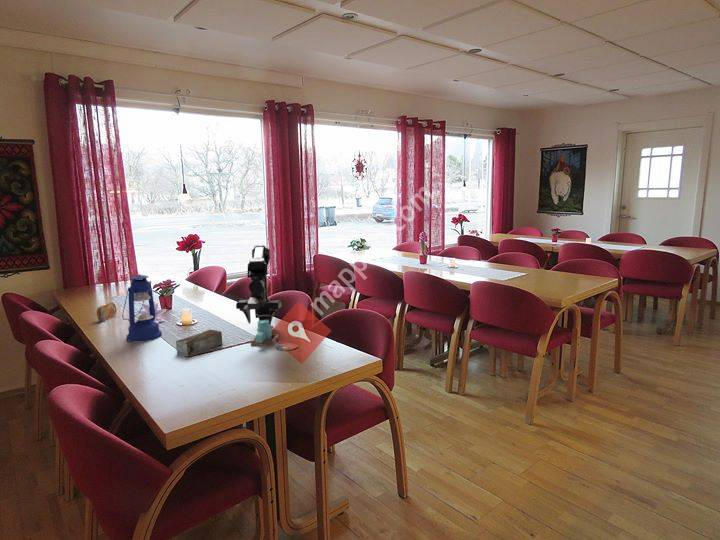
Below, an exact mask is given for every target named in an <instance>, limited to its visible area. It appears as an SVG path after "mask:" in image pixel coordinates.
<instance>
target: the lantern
mask: <svg viewBox="0 0 720 540" xmlns="http://www.w3.org/2000/svg"><path fill="white" fill-rule="evenodd" d="M148 278H149V276H148V275H146V274H145V275H144V274H137V275H134V276H131V277H129V279H130V280H131V282H130V287H128V288H127V290H126V291H127V292H126V297H125V301H124V307H123V310H122V320H123V321H125V320H128V322H129V326H128V333H127V335H126V340H127V341H128V340H129V341H128V342H132V341H142V342H147V341H148V340H149V341H153V340H155V339H159V338H161V337H162V336H161V335H162V331H161V330H160V326H159V322H158V323H157V322H155V321H154V320H155V308H154V303H155V301H154V294H153V288H152V281H149V280H148ZM127 298H128V317H129V318H124V311H125V307H126V304H127ZM145 301H148V306H149V307H150V308H149V311H150V315H145V314H140V315H139V313H140V311H142V310H143V309H144V307H143V304H145ZM135 302H139V304H140V305H141V308H140V309H139V310H137V311H136V314H135ZM140 302H142V303H140ZM145 307H146V306H145ZM137 312H139V313H137ZM160 336H161V337H160Z"/></svg>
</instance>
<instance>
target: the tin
mask: <svg viewBox="0 0 720 540" xmlns="http://www.w3.org/2000/svg"><path fill="white" fill-rule="evenodd" d="M116 315H117V306H116V304H115V303H114V302H107V303H104V304H102V305H100V306H98V307H97V309H96V317H97V319H98V321H100V322H107V321H108V319H109V320H111V319H113V318H114V317H116ZM110 318H111V319H110ZM106 320H107V321H106Z"/></svg>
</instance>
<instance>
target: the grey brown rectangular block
mask: <svg viewBox="0 0 720 540" xmlns="http://www.w3.org/2000/svg"><path fill="white" fill-rule="evenodd" d="M221 345H223V334H222V331H221V330H215V329H208V330H204V331H202V332H200V333H196V334H194V335H190V336H189V337H188V336H187V337H184V338H182V339H179V340H176V341H175V346H176V348H175V349H176V354H177V355H181V356H184V357H191V356H194V355H197V354H199V352H200V353H202V352H205V351H207V350H211V349H213V348H215V347H218V346H221Z"/></svg>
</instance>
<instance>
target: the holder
mask: <svg viewBox="0 0 720 540" xmlns="http://www.w3.org/2000/svg"><path fill="white" fill-rule="evenodd" d="M278 338H280V335H279V334H272V341H263V342H262V343H260V342H256V336H253V338H252V339H251V340H250V345H251V346H270V345H273V346H274V345H275V344H276V343H277V342H278V340H279V339H278ZM277 339H278V340H277ZM275 342H276V343H275ZM274 343H275V344H274Z"/></svg>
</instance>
